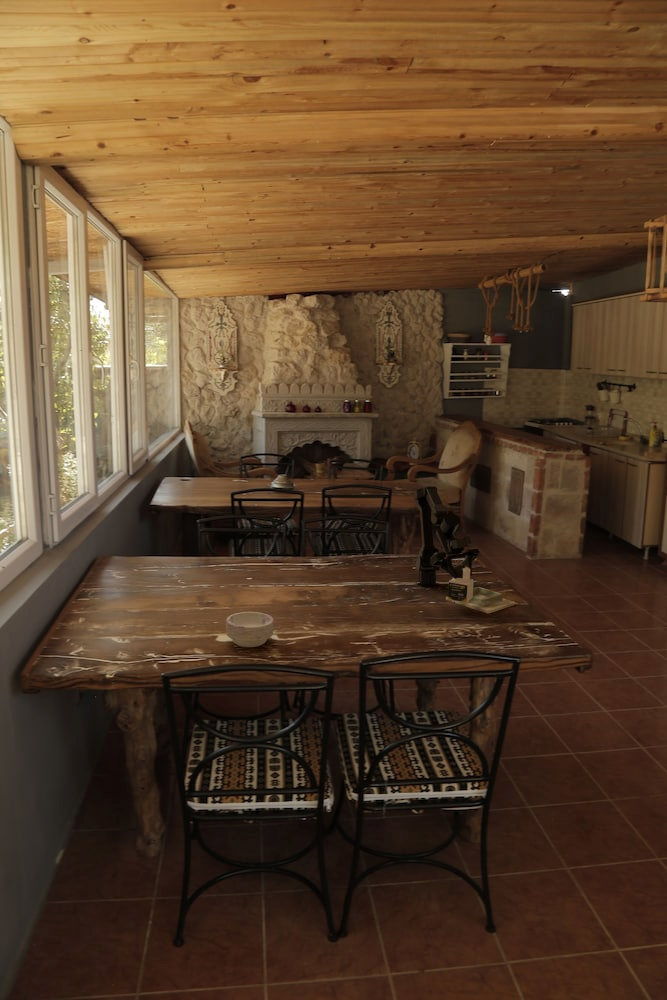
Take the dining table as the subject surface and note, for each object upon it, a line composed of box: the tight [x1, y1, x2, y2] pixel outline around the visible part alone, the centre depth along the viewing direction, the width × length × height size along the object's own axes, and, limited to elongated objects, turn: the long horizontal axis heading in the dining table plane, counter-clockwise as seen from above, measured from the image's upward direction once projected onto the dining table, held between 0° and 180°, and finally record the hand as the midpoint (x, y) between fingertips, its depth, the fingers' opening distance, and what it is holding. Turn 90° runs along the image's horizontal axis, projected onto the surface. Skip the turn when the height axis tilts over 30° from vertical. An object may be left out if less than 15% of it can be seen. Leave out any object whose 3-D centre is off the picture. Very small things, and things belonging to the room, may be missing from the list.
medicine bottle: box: [447, 565, 474, 603], centre depth 275 cm, size 7×7×12 cm
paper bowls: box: [225, 611, 275, 648], centre depth 243 cm, size 15×15×8 cm
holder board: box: [445, 586, 516, 614], centre depth 286 cm, size 20×16×4 cm
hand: (463, 577), depth 273 cm, fingers closed on medicine bottle, 6 cm apart
